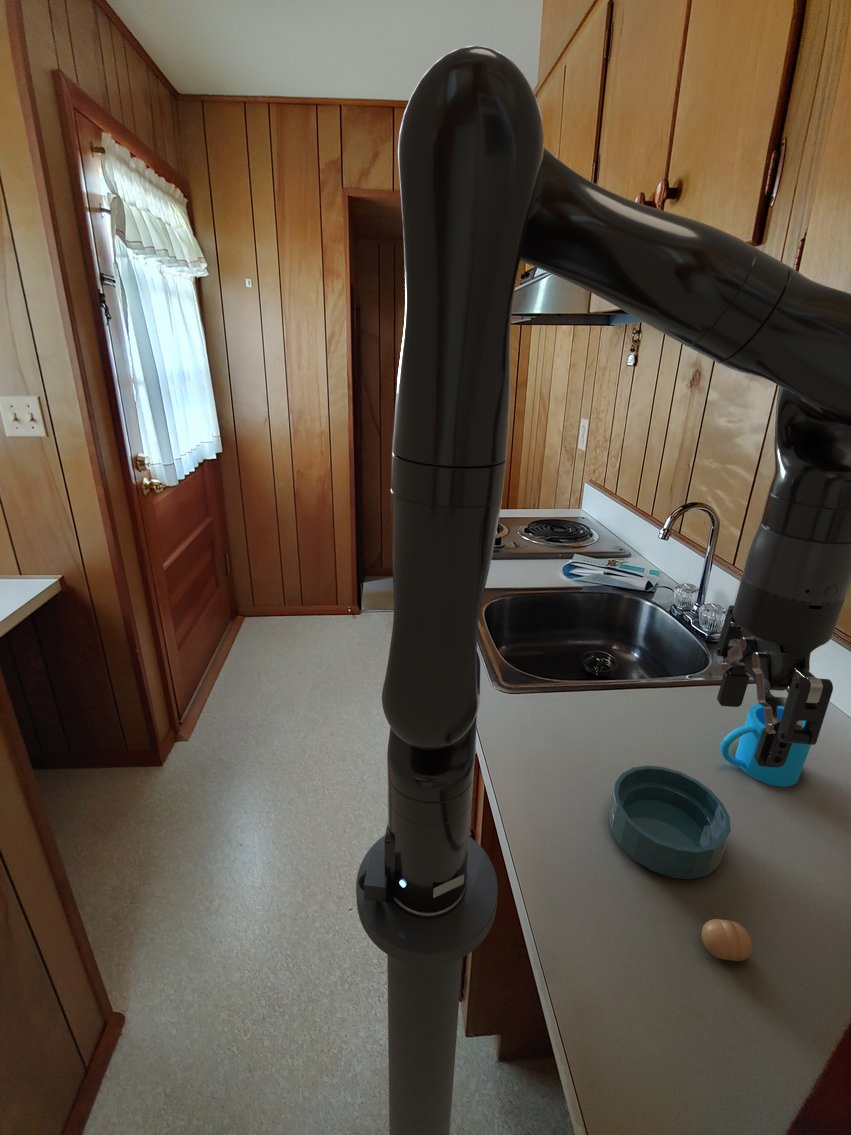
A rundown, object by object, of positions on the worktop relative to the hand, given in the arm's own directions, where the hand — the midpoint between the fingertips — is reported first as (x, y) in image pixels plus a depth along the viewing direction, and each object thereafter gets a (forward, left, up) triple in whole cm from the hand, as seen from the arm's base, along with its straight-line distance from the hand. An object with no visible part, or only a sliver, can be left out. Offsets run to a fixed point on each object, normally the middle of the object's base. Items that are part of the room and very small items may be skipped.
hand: (746, 732), depth 53 cm
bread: (+1, -6, -23) cm, 24 cm away
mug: (+16, +22, -23) cm, 35 cm away
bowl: (-1, +8, -23) cm, 24 cm away
